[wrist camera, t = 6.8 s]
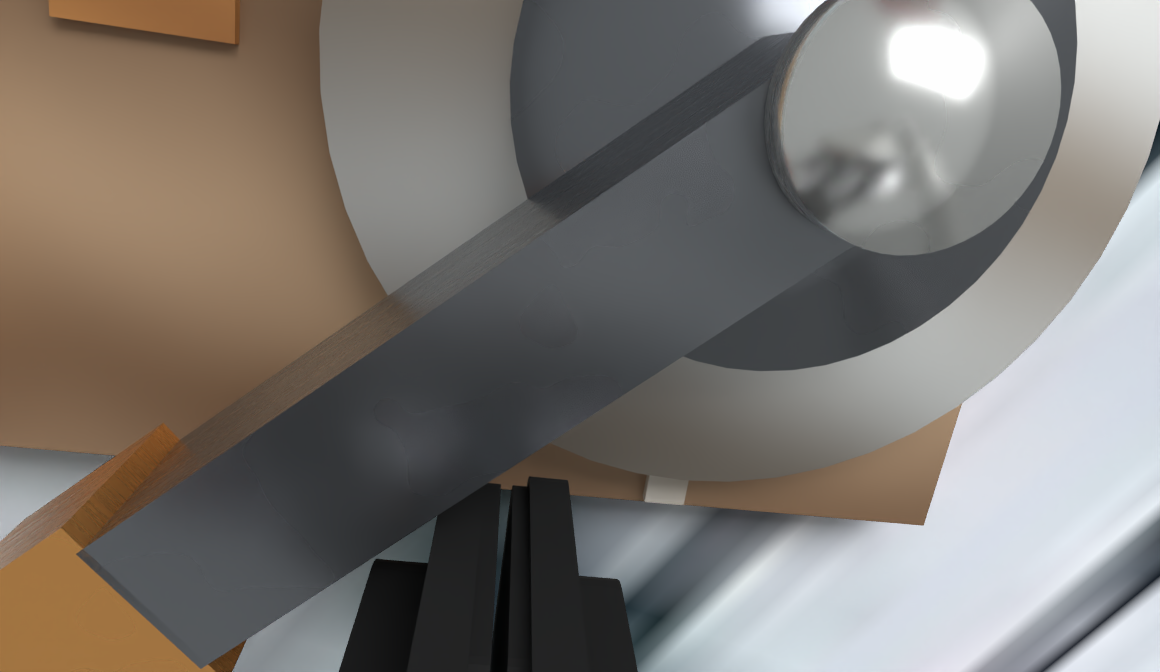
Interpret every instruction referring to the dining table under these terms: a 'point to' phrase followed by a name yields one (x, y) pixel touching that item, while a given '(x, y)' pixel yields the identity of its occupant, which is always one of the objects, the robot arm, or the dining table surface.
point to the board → (441, 241)
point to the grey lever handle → (575, 296)
